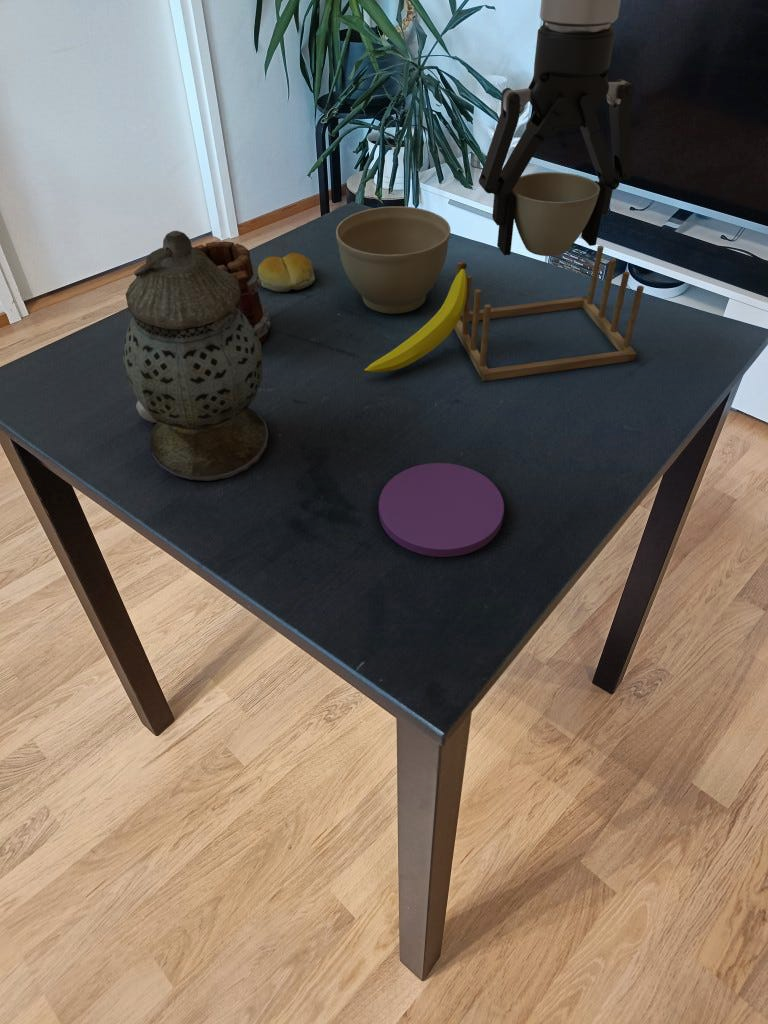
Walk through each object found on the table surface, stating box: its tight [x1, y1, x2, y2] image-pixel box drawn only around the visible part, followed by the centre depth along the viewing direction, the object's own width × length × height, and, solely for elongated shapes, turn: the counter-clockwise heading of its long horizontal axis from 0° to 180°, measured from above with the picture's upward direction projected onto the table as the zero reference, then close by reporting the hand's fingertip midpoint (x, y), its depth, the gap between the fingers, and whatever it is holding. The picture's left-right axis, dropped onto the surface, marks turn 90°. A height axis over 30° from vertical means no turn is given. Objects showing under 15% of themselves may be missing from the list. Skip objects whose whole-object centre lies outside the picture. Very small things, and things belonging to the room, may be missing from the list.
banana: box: [363, 262, 468, 373], centre depth 93 cm, size 3×19×6 cm, turn 127°
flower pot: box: [511, 171, 600, 257], centre depth 83 cm, size 10×10×7 cm
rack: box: [453, 245, 645, 382], centre depth 95 cm, size 16×21×10 cm
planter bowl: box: [335, 205, 451, 315], centre depth 104 cm, size 16×16×11 cm
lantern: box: [122, 230, 269, 482], centre depth 74 cm, size 14×14×25 cm
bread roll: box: [257, 252, 316, 293], centre depth 111 cm, size 8×9×4 cm
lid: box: [378, 462, 505, 558], centre depth 74 cm, size 13×13×1 cm
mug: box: [194, 240, 271, 344], centre depth 96 cm, size 12×14×15 cm
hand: (546, 245), depth 85 cm, fingers closed on flower pot, 10 cm apart
